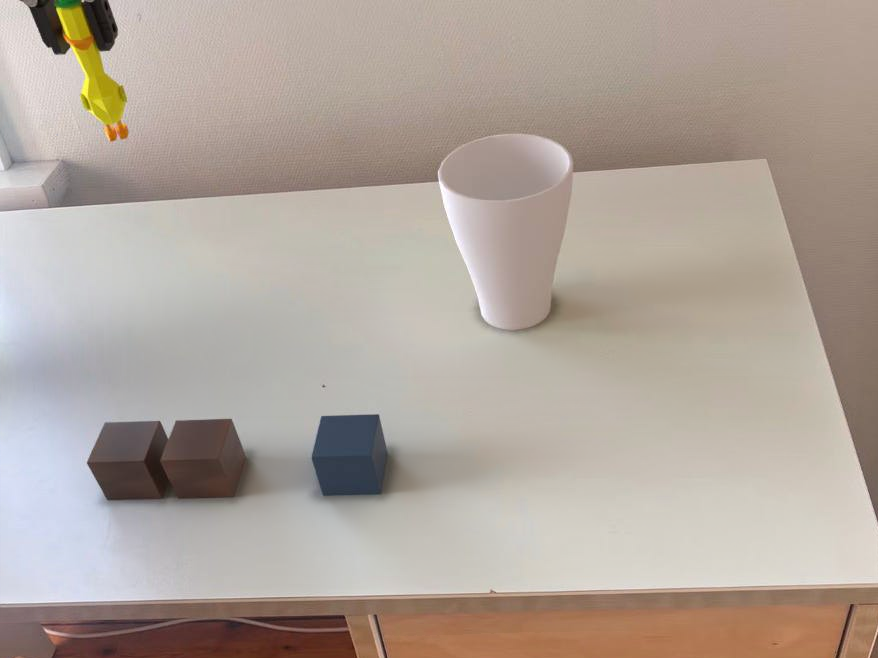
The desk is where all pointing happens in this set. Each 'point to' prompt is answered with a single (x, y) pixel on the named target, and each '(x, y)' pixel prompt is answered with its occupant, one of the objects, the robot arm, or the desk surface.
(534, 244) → the cup
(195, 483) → the block
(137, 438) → the block
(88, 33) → the toy figure
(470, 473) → the desk surface
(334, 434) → the block
